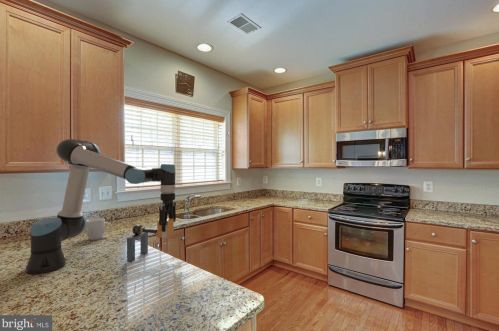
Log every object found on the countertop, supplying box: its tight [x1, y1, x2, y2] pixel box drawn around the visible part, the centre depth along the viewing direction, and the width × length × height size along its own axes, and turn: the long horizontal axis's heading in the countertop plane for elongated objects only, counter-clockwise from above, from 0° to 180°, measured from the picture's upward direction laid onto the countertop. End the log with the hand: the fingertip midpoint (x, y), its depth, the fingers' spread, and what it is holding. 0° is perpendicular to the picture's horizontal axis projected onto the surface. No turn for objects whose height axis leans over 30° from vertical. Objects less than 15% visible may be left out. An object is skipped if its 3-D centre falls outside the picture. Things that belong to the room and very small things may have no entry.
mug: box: [85, 217, 112, 241], centre depth 169 cm, size 15×11×13 cm
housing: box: [126, 224, 149, 263], centre depth 135 cm, size 14×3×18 cm, turn 169°
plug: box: [140, 217, 174, 239], centre depth 133 cm, size 17×6×9 cm, turn 79°
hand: (167, 235), depth 132 cm, fingers closed on plug, 6 cm apart
